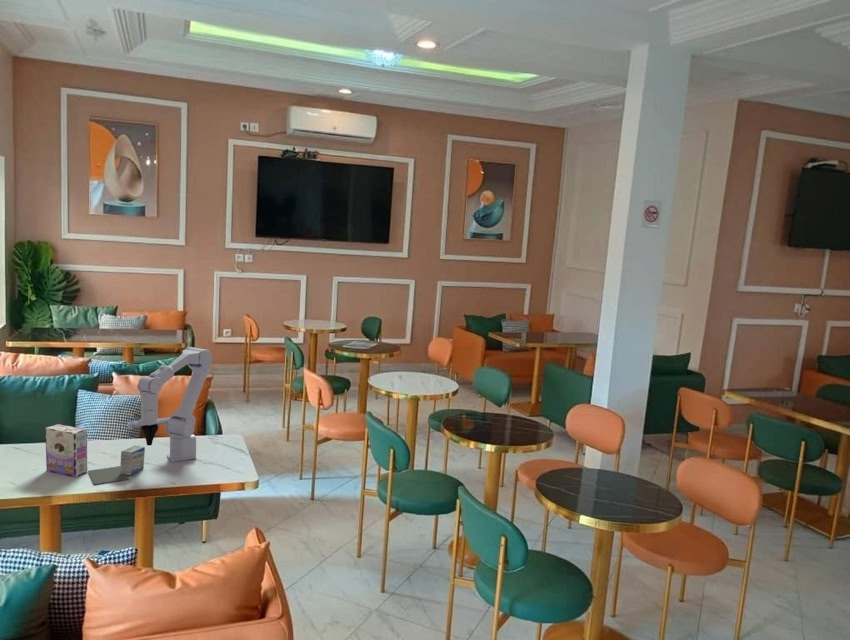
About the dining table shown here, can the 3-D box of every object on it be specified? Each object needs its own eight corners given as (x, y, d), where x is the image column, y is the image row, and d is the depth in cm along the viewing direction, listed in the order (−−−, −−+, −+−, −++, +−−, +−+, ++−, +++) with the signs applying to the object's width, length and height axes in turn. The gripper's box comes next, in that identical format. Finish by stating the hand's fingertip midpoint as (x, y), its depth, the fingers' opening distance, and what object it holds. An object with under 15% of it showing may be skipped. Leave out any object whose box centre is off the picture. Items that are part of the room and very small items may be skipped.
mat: (120, 467, 245) (120, 466, 245) (128, 479, 234) (128, 478, 234) (88, 471, 239) (88, 470, 239) (94, 485, 227) (94, 484, 227)
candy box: (88, 472, 238) (88, 428, 236) (74, 478, 233) (74, 433, 230) (59, 466, 242) (58, 423, 240) (45, 471, 237) (44, 427, 235)
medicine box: (130, 475, 236) (131, 452, 236) (119, 473, 237) (120, 450, 236) (143, 469, 244) (145, 446, 243) (133, 467, 245) (134, 444, 244)
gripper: (166, 404, 248) (166, 438, 250) (125, 408, 240) (125, 444, 242) (172, 408, 243) (171, 444, 245) (130, 413, 234) (130, 449, 236)
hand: (149, 444), depth 243 cm, fingers closed
